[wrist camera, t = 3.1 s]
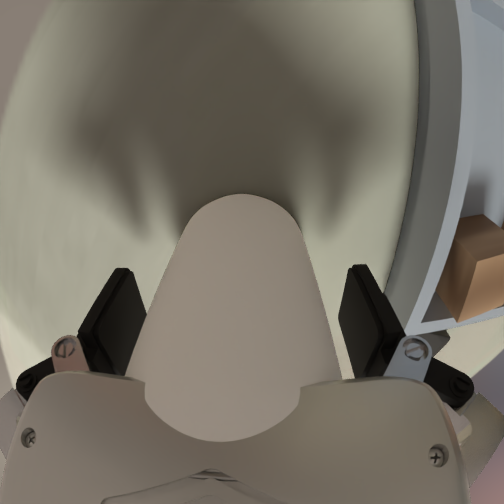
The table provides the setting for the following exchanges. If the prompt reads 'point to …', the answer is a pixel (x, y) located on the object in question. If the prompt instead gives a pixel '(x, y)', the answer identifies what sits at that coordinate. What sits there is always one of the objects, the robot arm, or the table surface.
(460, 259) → the walnut block
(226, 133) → the table surface
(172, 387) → the can
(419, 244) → the tray
